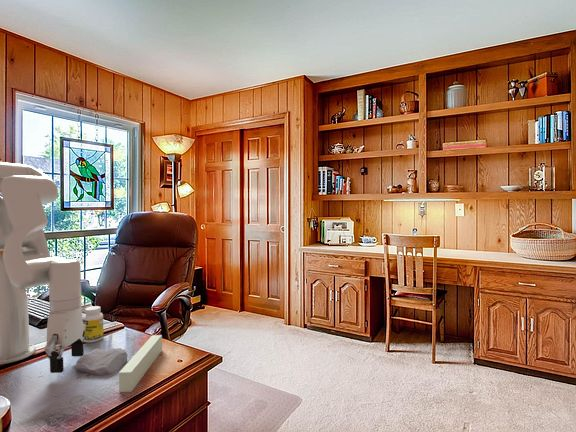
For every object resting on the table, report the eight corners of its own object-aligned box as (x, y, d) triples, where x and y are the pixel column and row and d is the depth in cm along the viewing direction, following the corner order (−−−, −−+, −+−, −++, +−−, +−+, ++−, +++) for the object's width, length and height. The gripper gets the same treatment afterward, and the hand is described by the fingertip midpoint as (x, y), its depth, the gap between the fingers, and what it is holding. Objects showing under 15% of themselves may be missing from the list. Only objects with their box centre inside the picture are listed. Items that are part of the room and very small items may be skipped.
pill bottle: (79, 343, 117) (78, 310, 116) (89, 336, 123) (88, 305, 122) (97, 343, 117) (97, 310, 116) (107, 335, 123) (106, 305, 122)
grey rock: (111, 382, 95) (130, 358, 105) (108, 367, 94) (128, 344, 104) (71, 381, 96) (93, 358, 106) (67, 366, 95) (90, 344, 105)
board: (119, 392, 87) (118, 372, 87) (152, 350, 111) (152, 335, 111) (131, 391, 87) (131, 372, 87) (162, 350, 111) (161, 335, 111)
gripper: (70, 295, 106) (72, 350, 106) (30, 314, 88) (32, 379, 89) (95, 295, 106) (97, 350, 107) (60, 313, 89) (62, 379, 89)
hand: (67, 363), depth 98 cm, fingers open, 9 cm apart
